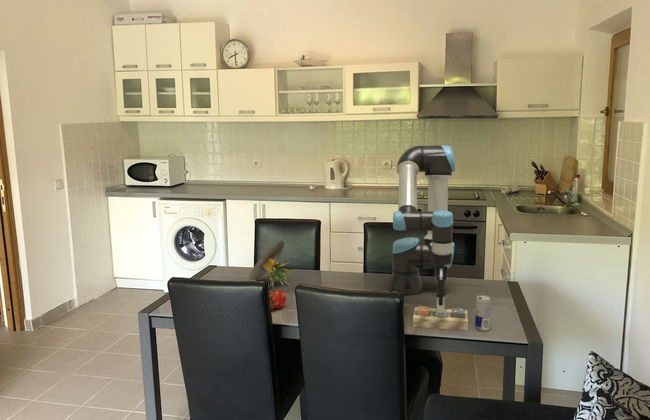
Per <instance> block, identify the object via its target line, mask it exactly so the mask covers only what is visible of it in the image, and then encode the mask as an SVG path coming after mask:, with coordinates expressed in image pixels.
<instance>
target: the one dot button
mask: <svg viewBox="0 0 650 420" xmlns="http://www.w3.org/2000/svg"><path fill="white" fill-rule="evenodd" d="M429 308H430V306H424V305H418V306H417V315H422V316H429Z"/></svg>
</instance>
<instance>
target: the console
mask: <svg viewBox="0 0 650 420" xmlns="http://www.w3.org/2000/svg"><path fill="white" fill-rule="evenodd" d="M417 307H418V306H417ZM417 307H416V306H415V307H414V311H413V316H412V327H413V328H426V329H429V328H430V329H442V330H443V329H444V330H453V331H454V330H455V331H468V329H469V318H468V310H467V309H464V318H452V308H451V309H449V308H444V311H446V312H447V317H437V316H434V313H435V311H437V307H436V308H433V307H429V316H422V315H417Z"/></svg>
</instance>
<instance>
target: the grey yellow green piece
mask: <svg viewBox="0 0 650 420" xmlns="http://www.w3.org/2000/svg"><path fill="white" fill-rule="evenodd" d="M284 245H285V242H284V240H283V241H282V240H280V241H278V242H276V243H274V244H273V245H272V246H271V247H269V248H268V249H267V250H266V251H265V252H264V253H263V255H262V256H261V257H260V258H259V259H258V260H257V261H256V263H255V265H254V266H253V267H252V270H251V272H250V273H249V276H248V280H247V281H250V280H258V281H260V279H262V278H263V277H264V276H265V275H266V274H267V273H268V274H269V275H270V276H269V279H270V282H269V283H270V284H269V287H268V289H270V288H271V286H272V288H274V285H275V278H276V280H278V282H279V283H280V284H281V285H282V286H284V284H287V285H288V286H290V284H289V280H288V279H289V278H290V277H289V276H287V275H288V274H289V275H291V274H292V273H291V272H293V273H294V269H293V268H288V269H287V268H283V267H284V266H285V265H288V264H289V262H288V261H289V260H288V259H287V260H285V261H284V262H282V263H279V262H278V259H279V258H280V257H281V254H282V252H283V249H284V247H285V246H284ZM287 278H288V279H287ZM283 282H284V283H283Z"/></svg>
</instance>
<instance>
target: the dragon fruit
mask: <svg viewBox="0 0 650 420" xmlns="http://www.w3.org/2000/svg"><path fill="white" fill-rule="evenodd" d="M268 293H269V295H270V304H271V308H270V309H272V310H273V309H274V310H276V309H280V310H281V309H283V307H285V304H286V303H287V300H288V298H287V296H286V292H285V291H282V290H281V289H277V290H275V289H274V290H272V291H269V292H268Z"/></svg>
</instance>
